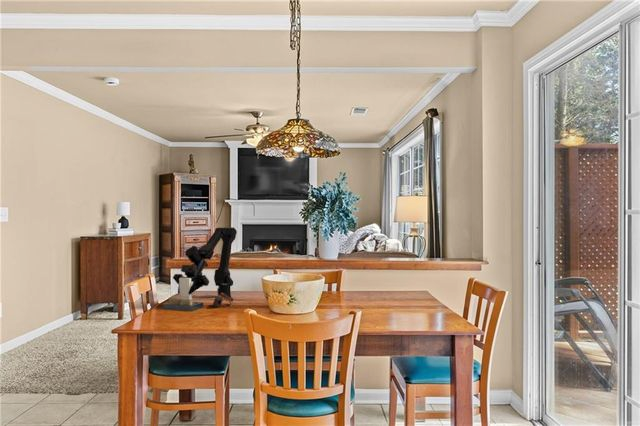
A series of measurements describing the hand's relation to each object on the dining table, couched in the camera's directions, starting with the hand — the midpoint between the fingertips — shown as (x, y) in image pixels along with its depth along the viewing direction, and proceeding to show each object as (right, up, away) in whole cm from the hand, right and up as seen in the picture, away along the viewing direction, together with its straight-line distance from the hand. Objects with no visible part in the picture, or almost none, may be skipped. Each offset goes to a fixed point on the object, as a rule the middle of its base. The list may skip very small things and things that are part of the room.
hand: (183, 293), depth 230 cm
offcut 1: (-4, -7, -1) cm, 8 cm away
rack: (0, -8, -1) cm, 8 cm away
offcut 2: (+2, -7, -3) cm, 8 cm away
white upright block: (+1, -7, +1) cm, 7 cm away
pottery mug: (+18, -8, +3) cm, 20 cm away
